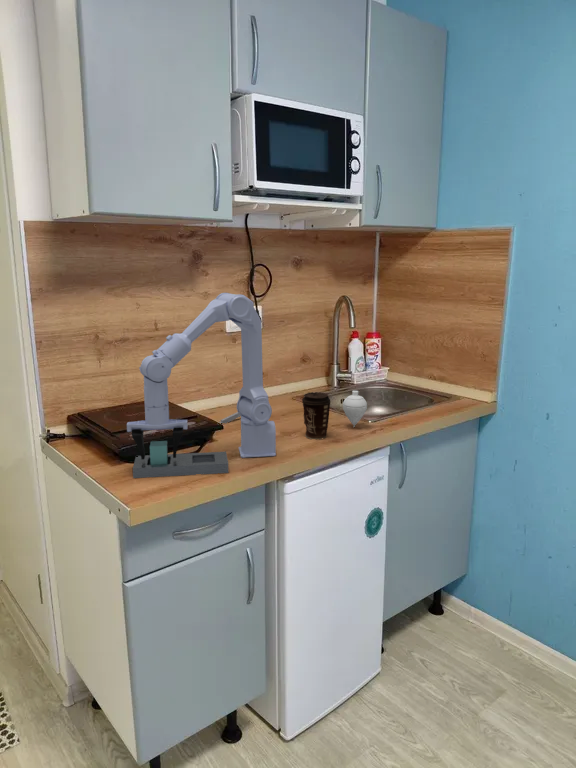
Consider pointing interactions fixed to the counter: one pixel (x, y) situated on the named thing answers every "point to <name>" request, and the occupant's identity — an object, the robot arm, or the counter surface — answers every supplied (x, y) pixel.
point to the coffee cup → (316, 414)
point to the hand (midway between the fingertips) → (159, 457)
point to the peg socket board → (182, 465)
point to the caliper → (230, 418)
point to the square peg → (158, 453)
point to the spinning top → (354, 407)
